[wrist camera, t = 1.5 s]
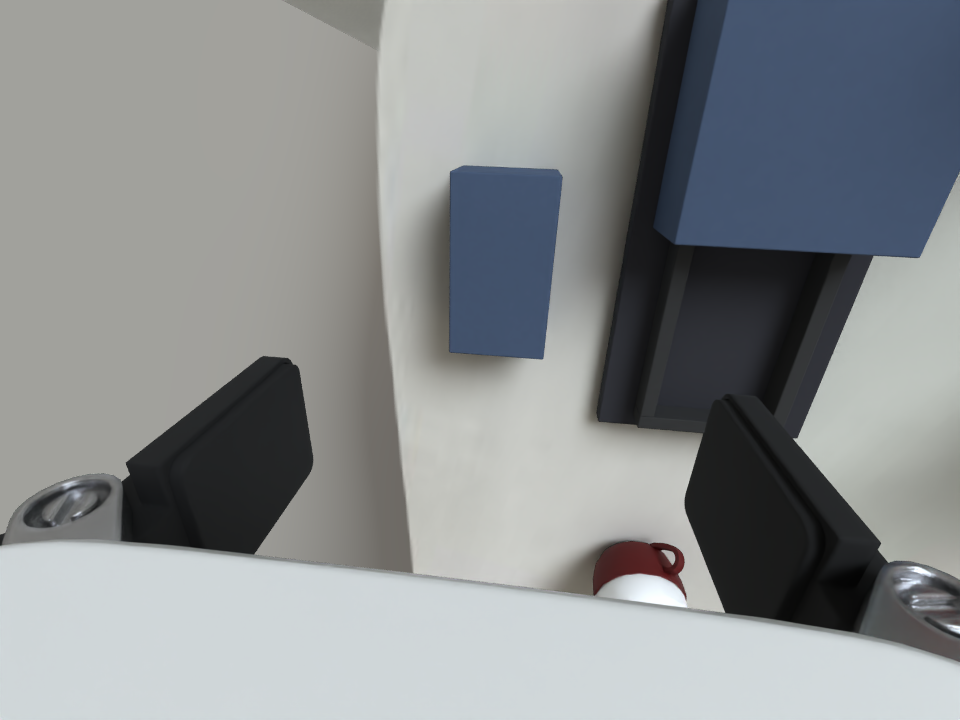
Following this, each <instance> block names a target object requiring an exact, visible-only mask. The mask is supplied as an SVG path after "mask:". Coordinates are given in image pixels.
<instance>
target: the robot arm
mask: <svg viewBox="0 0 960 720" xmlns="http://www.w3.org/2000/svg"><path fill="white" fill-rule="evenodd" d="M126 465H127V468H128V470H129V473H130V475H129V476H128V477H127V478H126V479H124V480H123V481H122V482H121V480H120V479H118V478H117V477H115V476H114V475H109V474H104V473H103V474H87V475H82V476H77V477H73V478H70V479H67V480H64V481H61V482H58V483H56V484H54V485H52V486H50V487H47V488H45V489H43V490H41V491H39V492H38V493H36V494H35V495H33V496H32V497H30V498H28V499H27V500H26V501H25V502H24V503H22V504H21V505H20V506H19V507H18V508H17V509H16V510H15V512H14V513H13V515H12V517H11V518H10V521H9V524H8V527H7V530H6V533H4V534H1V535H0V720H960V580H959V579H957V578H955V577H953V576H951V575H950V574H947V573H945V572H942V571H940V570H938V569H935V568H933V567H930V566H927V565H923V564H919V563H915V562H911V561H893V562H890V563H888V562H887V561H886V560H885V558H884V557H883V556H882V555H881V554H880V552H879V551H878V548H879V546H880V544H881V542H880V541H879V540H878V539H877V538H876V536H875V535H874V534H873V533H872V532H871V530H870V529H869V528H868V527H867V526H866V525H865V523H864V522H863V521H862V520H861V519H860V517H859V516H858V515H857V514H856V513H855V512H854V510H853V509H852V508H851V507H850V506H849V505H848V503H847V502H846V501H845V500H844V499H843V497H842V496H841V495H840V494H839V493H838V492H837V490H836V489H835V488H834V487H833V486H832V484H831V483H830V482H829V481H828V480H827V479H826V477H825V476H824V475H823V474H822V473H821V471H820V470H819V469H818V468H817V467H816V466H815V464H814V463H813V462H812V461H811V460H810V459H809V457H808V456H807V455H806V454H805V453H804V451H803V450H802V449H801V448H800V447H799V446H798V444H797V443H796V442H795V441H794V440H793V438H792V437H791V436H790V435H789V434H788V433H787V431H786V430H785V429H784V428H783V427H782V425H781V424H780V423H779V422H778V421H777V420H776V418H775V417H774V416H773V415H772V414H771V413H770V411H769V410H768V409H767V408H766V407H765V405H764V404H763V403H762V402H761V401H760V400H759V398H757V397H756V396H749V395H736V394H725V395H724V396H723V397H722V399H721V400H717V399H716V400H715V401H714V402H713V404H712V406H711V409H710V413H709V416H708V420H707V423H706V426H705V430H704V433H703V437H702V440H701V443H700V447H699V450H698V454H697V457H696V460H695V464H694V467H693V471H692V474H691V478H690V481H689V484H688V488H687V491H686V495H685V511H686V514H687V517H688V519H689V522H690V524H691V527H692V529H693V532H694V534H695V537H696V539H697V542H698V544H699V547H700V550H701V552H702V555H703V557H704V560H705V562H706V565H707V567H708V570H709V572H710V575H711V577H712V580H713V583H714V585H715V588H716V590H717V593H718V595H719V598H720V600H721V603H722V605H723V608H724V610H725V613H721V612H714V611H707V610H700V609H692V608H685V607H677V606H669V605H661V604H654V603H646V602H638V601H630V600H622V599H615V598H607V597H599V596H591V595H583V594H576V593H568V592H560V591H552V590H544V589H536V588H528V587H520V586H512V585H504V584H496V583H488V582H480V581H472V580H463V579H455V578H447V577H439V576H431V575H422V574H414V573H406V572H398V571H389V570H381V569H373V568H365V567H364V568H363V567H355V566H347V565H338V564H330V563H321V562H313V561H304V560H296V559H287V558H278V557H270V556H261V555H254V554H255V552H256V551H257V549H258V548H259V546H260V545H261V543H262V542H263V541H264V539H265V538H266V536H267V535H268V533H269V532H270V531H271V529H272V528H273V526H274V524H275V523H276V522H277V520H278V519H279V517H280V516H281V514H282V513H283V512H284V510H285V509H286V507H287V506H288V504H289V503H290V501H291V500H292V498H293V497H294V496H295V494H296V493H297V491H298V490H299V488H300V487H301V485H302V484H303V482H304V481H305V480H306V478H307V477H308V475H309V474H310V472H311V469H312V466H313V453H312V447H311V441H310V434H309V428H308V422H307V416H306V409H305V403H304V397H303V390H302V384H301V378H300V372H299V368H298V367H297V366H296V365H293V364H292V362H291V360H289V359H288V358H280V357H268V356H263V357H261V358H259V359H258V360H257V361H255V362H254V363H253V364H251V365H250V366H249V367H248V368H246V369H245V370H244V371H242V372H241V373H240V374H239V375H237V376H236V377H235V378H234V379H232V380H231V381H230V382H228V383H227V384H226V385H224V386H223V387H222V388H221V389H219V390H218V391H217V392H216V393H214V394H213V395H212V396H211V397H209V398H208V399H207V400H205V401H204V402H203V403H202V404H201V405H199V406H198V407H196V408H195V409H194V410H193V411H191V412H190V413H189V414H188V415H186V416H185V417H184V418H182V419H181V420H180V421H178V422H177V423H176V424H175V425H173V426H172V427H171V428H170V429H168V430H167V431H166V432H164V433H163V434H162V435H161V436H159V437H158V438H157V439H155V440H154V441H153V442H152V443H150V444H149V445H148V446H146V447H145V448H144V449H143V450H142V451H140V452H139V453H138V454H136V455H135V456H134V457H132V458H131V459H130V460H129V461H127V462H126Z"/></svg>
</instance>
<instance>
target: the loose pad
mask: <svg viewBox="0 0 960 720" xmlns="http://www.w3.org/2000/svg"><path fill="white" fill-rule="evenodd" d="M562 178H563V177H562V175H561V174H560V172H559V171H558V170H554V169H531V168H508V167H485V166H461V167H459V168H457V169H455V170H452V171H450V311H449V352H451V353H464V354H477V355H491V356H504V357H517V358H530V359H543V357H544V348H545V338H546V329H547V319H548V310H549V301H550V291H551V282H552V272H553V263H554V253H555V244H556V234H557V225H558V216H559V206H560V197H561V187H562Z"/></svg>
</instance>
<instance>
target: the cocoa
mask: <svg viewBox="0 0 960 720" xmlns="http://www.w3.org/2000/svg"><path fill="white" fill-rule="evenodd" d="M661 550H668V551H672V552H673V553H674V555H675V563H674V564H673V565H672V564H671V563H670V561H669V560H668V559H667V557H666V556H665V554H664V553H663V552H661ZM684 563H685V562H684V556H683V553H682V552H681V551H680V550H679V549H678V548H676V547H674V546H672V545H669V544H665V543H652V544H650V545H649V544H647V543H642V542H635V541H628V542H622V543H617V544H615V545H613V546H611V547H610V548H608V549H606V550H605V551H604V553H603V554H602V555H601V557H600V558H599V560H598V561H597V563H596V565H595V570H594V576H593V593H594V596H599V597H607V598H615V599H622V600H630V601H638V602H646V603H654V604H661V605H669V606H677V607H685V608H688V607H687V603H686V597H687V596H686V592H685V589H684V587H683V584H682V581H681V579H680V578H679V576H678V573H680V572H681V571H682V569H683V567H684Z"/></svg>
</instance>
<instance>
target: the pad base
mask: <svg viewBox="0 0 960 720" xmlns="http://www.w3.org/2000/svg"><path fill="white" fill-rule="evenodd" d="M959 172H960V0H668V4H667V9H666V15H665V21H664V27H663V32H662V38H661V44H660V50H659V55H658V61H657V67H656V73H655V78H654V84H653V90H652V96H651V101H650V107H649V113H648V119H647V124H646V130H645V136H644V142H643V147H642V153H641V159H640V165H639V170H638V176H637V182H636V188H635V193H634V199H633V205H632V211H631V217H630V222H629V228H628V234H627V240H626V245H625V251H624V257H623V263H622V268H621V274H620V280H619V286H618V291H617V297H616V303H615V309H614V314H613V320H612V326H611V332H610V337H609V343H608V349H607V355H606V360H605V366H604V372H603V378H602V383H601V389H600V395H599V401H598V406H597V412H596V414H597V418H598V421H599V422H610V423H622V424H634V425H637V427H638V428H649V429H660V430H672V431H683V432H695V433H704V430H705V426H706V423H707V420H708V416H709V413H710V409H711V406H712V404H713V402H714V401H715V400H716V399H717V400H721V399H722V397H723V396H724V395H725V394H736V395H749V396H756V397H757V398H759V400H760V401H761V402H762V403H763V404H764V405H765V407H766V408H767V409H768V410H769V411H770V413H771V414H772V415H773V416H774V417H775V418H776V420H777V421H778V422H779V423H780V424H781V425H782V427H783V428H784V429H785V430H786V431H787V433H788V434H789V435H790V436H791V437H792V438H798V435H799V433H800V431H801V428H802V426H803V423H804V421H805V419H806V416H807V414H808V411H809V409H810V407H811V404H812V402H813V399H814V397H815V395H816V392H817V390H818V387H819V385H820V383H821V380H822V378H823V375H824V373H825V371H826V368H827V366H828V363H829V361H830V359H831V356H832V354H833V352H834V349H835V347H836V344H837V342H838V340H839V337H840V335H841V332H842V330H843V328H844V325H845V323H846V320H847V318H848V316H849V313H850V311H851V308H852V306H853V304H854V301H855V299H856V296H857V294H858V292H859V289H860V287H861V284H862V282H863V280H864V277H865V275H866V273H867V270H868V268H869V265H870V263H871V261H872V258H873V256H890V257H908V258H919V257H920V256H921V254H922V252H923V249H924V247H925V245H926V243H927V241H928V239H929V236H930V234H931V232H932V230H933V228H934V226H935V223H936V221H937V219H938V217H939V215H940V213H941V211H942V208H943V206H944V204H945V202H946V200H947V198H948V195H949V193H950V191H951V189H952V187H953V185H954V182H955V180H956V178H957V176H958V174H959Z"/></svg>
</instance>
